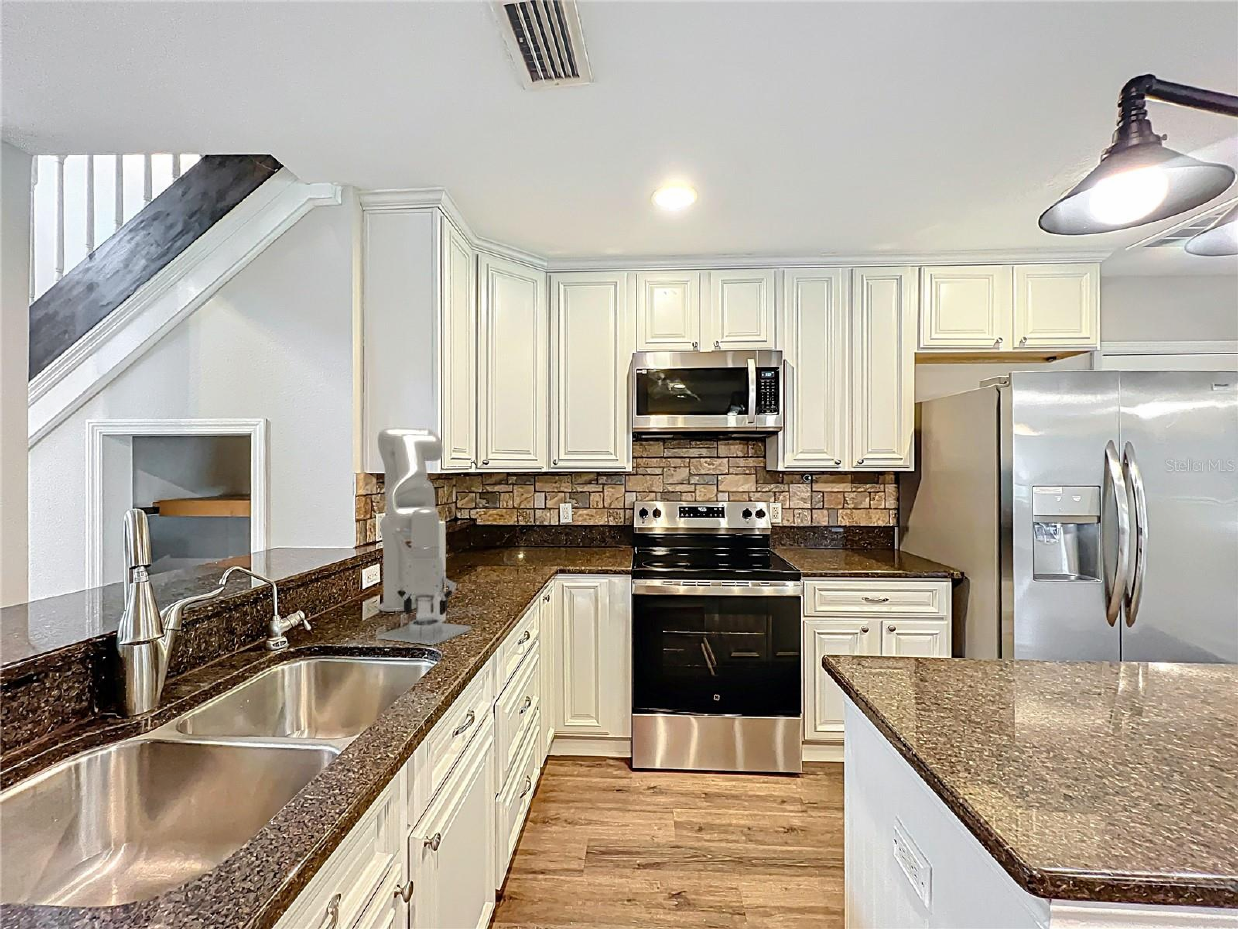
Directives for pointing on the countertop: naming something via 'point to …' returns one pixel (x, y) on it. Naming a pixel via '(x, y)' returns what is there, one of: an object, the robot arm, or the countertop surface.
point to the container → (443, 555)
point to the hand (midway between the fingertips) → (425, 613)
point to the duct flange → (425, 632)
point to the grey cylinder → (425, 609)
